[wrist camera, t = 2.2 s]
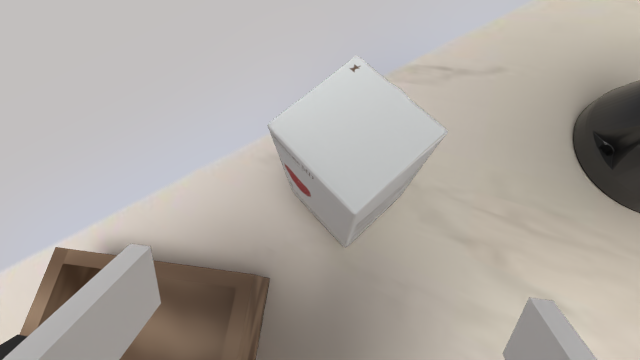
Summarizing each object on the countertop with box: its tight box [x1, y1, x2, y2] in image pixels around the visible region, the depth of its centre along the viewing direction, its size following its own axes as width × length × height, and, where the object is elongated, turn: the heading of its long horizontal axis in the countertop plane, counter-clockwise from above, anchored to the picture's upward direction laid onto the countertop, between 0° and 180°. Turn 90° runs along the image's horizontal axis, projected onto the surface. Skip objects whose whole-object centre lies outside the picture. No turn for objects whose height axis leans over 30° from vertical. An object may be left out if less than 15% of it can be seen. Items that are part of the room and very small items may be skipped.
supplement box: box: [268, 55, 448, 247], centre depth 28 cm, size 9×9×15 cm
